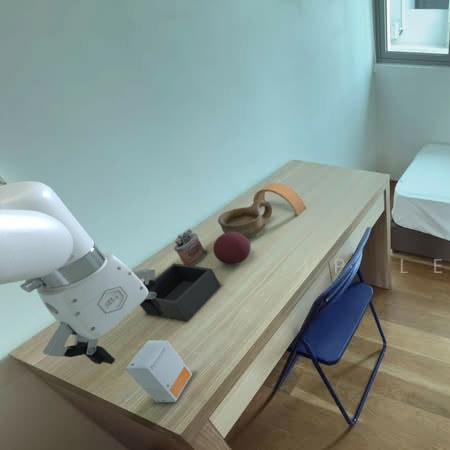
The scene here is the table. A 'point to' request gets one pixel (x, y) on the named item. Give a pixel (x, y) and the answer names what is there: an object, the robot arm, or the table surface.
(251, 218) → the bowl
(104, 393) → the table surface
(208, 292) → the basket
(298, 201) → the arch
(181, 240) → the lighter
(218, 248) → the decorative ball
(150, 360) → the cosmetic box
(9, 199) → the robot arm
